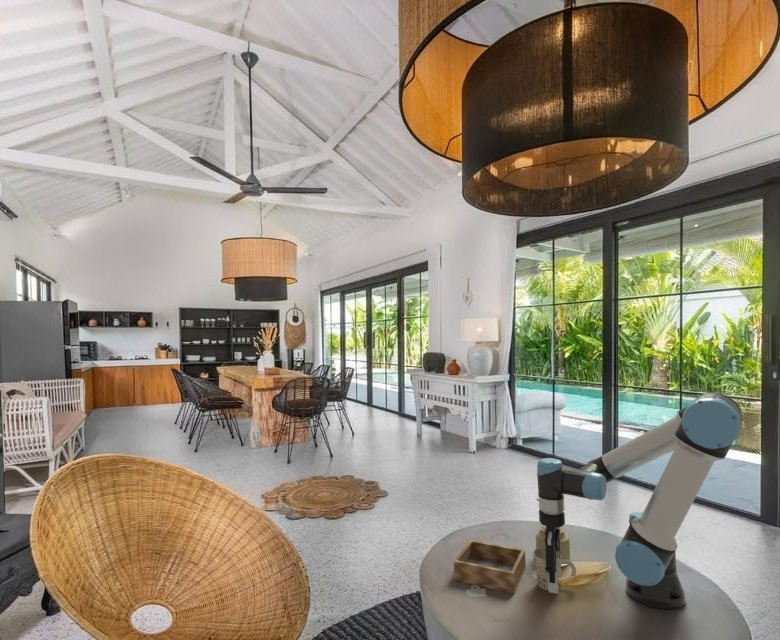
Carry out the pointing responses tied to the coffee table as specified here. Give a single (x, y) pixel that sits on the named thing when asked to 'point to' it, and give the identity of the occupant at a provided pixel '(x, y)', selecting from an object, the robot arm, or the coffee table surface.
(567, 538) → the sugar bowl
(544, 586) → the mug
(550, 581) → the robot arm
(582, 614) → the coffee table surface
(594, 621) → the coffee table surface
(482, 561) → the open wooden crate
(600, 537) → the coffee table surface
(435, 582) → the coffee table surface
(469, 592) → the mounting bracket
